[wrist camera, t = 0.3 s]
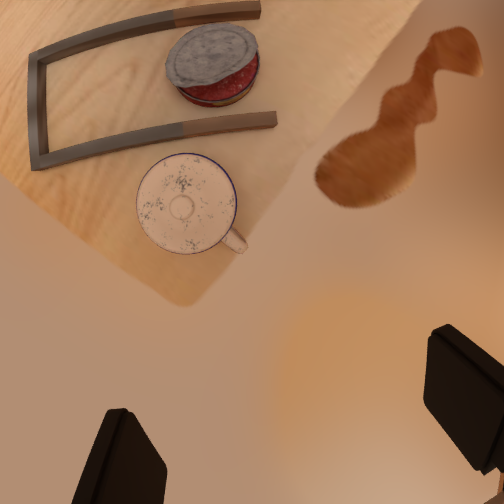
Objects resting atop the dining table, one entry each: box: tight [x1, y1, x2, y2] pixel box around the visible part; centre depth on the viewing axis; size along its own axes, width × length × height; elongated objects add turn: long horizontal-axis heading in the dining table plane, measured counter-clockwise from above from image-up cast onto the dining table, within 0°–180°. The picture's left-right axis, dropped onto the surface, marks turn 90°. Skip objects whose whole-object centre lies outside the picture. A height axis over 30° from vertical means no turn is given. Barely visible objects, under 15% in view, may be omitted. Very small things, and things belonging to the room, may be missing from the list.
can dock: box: [27, 0, 278, 171], centre depth 31 cm, size 16×30×2 cm, turn 97°
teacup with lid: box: [136, 153, 248, 254], centre depth 31 cm, size 12×9×12 cm
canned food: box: [165, 23, 260, 107], centre depth 30 cm, size 11×10×10 cm
